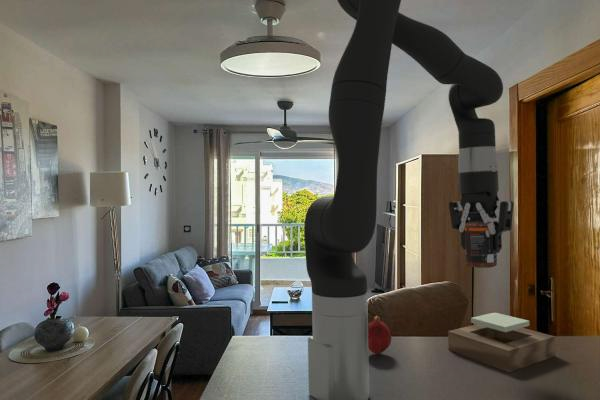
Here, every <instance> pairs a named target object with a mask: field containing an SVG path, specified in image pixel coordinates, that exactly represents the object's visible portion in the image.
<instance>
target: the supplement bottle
mask: <svg viewBox="0 0 600 400" xmlns="http://www.w3.org/2000/svg"><path fill="white" fill-rule="evenodd" d="M469 218H470V220H469V221H468V222H467V223H466V224H465V250H464V251H465V264H466V265H467V266H468V267H471V268H479V269H480V268H484V269H485V268H486V269H487V268H495V267H496V266H497V261H498V255H497V254H498V253H491V252H490V236H489V235H491V233H490V231H489V228H488V226H487V225H486V224H485V223H484V221H483V219H482V217H481V215H480V212H469Z"/></svg>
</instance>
